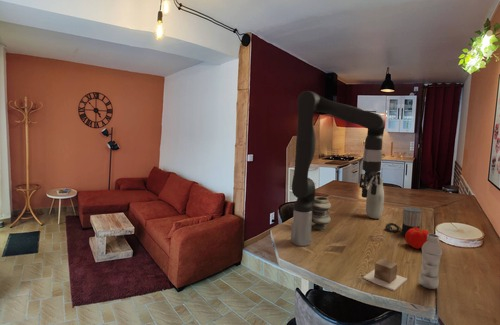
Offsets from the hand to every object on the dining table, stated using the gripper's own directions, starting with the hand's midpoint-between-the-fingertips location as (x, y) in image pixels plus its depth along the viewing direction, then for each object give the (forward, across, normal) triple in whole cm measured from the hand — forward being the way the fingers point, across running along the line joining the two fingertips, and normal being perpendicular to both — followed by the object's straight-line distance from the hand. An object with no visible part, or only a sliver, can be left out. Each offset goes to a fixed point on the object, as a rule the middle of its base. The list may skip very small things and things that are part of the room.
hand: (368, 195), depth 132 cm
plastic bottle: (+28, +5, +28) cm, 40 cm away
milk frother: (+29, -47, -1) cm, 55 cm away
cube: (+28, +12, +15) cm, 34 cm away
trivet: (+28, +12, +15) cm, 35 cm away
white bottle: (+29, -61, -25) cm, 72 cm away
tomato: (+29, -32, +12) cm, 45 cm away
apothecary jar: (+30, -17, -36) cm, 49 cm away
